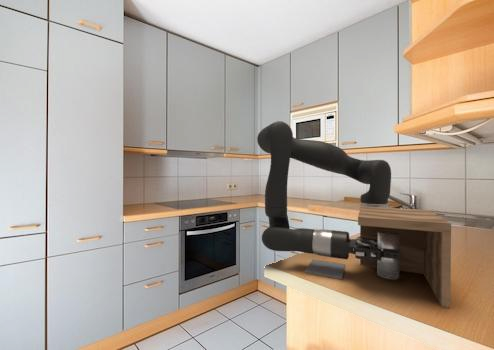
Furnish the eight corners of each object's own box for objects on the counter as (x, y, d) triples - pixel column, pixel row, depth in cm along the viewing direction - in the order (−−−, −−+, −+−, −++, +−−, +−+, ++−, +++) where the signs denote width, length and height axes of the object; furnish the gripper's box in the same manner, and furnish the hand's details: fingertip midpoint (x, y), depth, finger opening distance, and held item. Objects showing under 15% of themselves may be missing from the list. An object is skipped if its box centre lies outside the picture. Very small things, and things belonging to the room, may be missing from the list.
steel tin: (376, 270, 70) (377, 230, 70) (397, 273, 68) (398, 232, 68) (377, 277, 66) (377, 234, 66) (400, 280, 64) (400, 236, 63)
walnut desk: (360, 263, 81) (360, 206, 81) (429, 272, 73) (429, 210, 73) (357, 291, 62) (358, 216, 62) (450, 308, 54) (451, 223, 54)
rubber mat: (312, 261, 83) (312, 259, 83) (345, 265, 78) (345, 263, 78) (304, 273, 73) (304, 271, 73) (342, 279, 68) (342, 277, 68)
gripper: (327, 236, 66) (403, 244, 59) (334, 225, 79) (397, 231, 72) (327, 264, 67) (403, 276, 59) (333, 249, 79) (397, 257, 72)
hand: (399, 251), depth 66 cm, fingers closed on steel tin, 5 cm apart
